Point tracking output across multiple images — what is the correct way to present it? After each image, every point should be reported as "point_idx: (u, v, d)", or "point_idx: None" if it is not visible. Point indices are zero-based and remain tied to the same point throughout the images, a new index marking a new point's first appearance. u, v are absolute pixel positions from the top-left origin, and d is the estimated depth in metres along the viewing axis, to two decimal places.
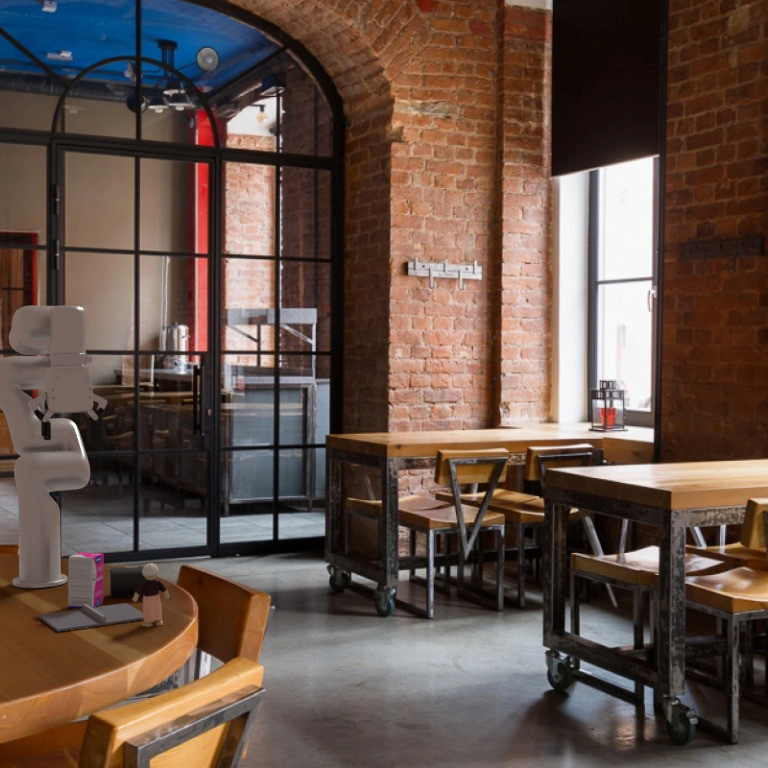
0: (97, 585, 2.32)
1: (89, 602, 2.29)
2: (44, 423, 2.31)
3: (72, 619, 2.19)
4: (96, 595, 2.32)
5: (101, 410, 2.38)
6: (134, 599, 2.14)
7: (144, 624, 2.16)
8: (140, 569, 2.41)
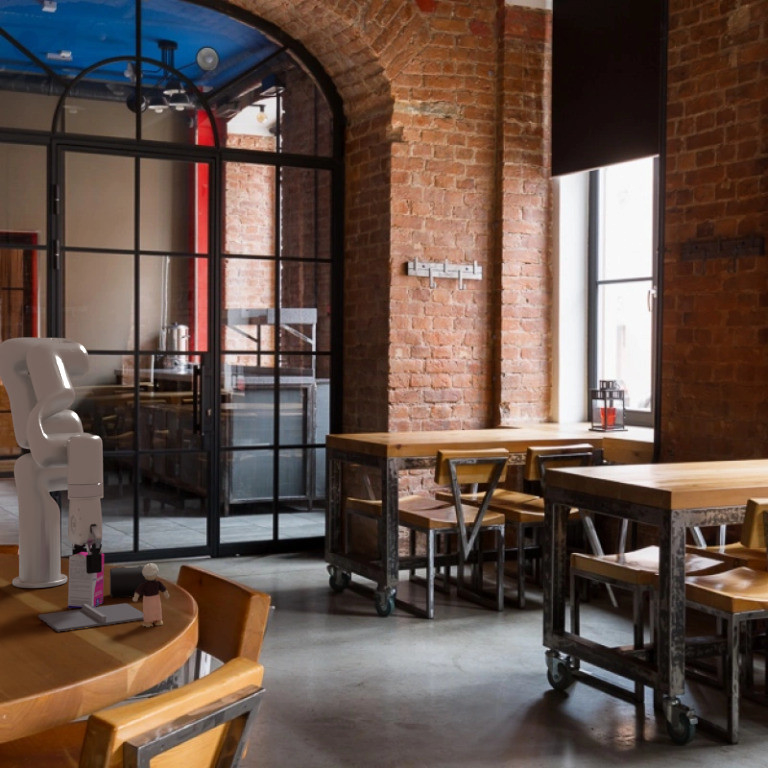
0: (98, 585, 2.32)
1: (89, 602, 2.30)
2: None
3: (72, 619, 2.19)
4: (97, 595, 2.32)
5: None
6: (134, 599, 2.14)
7: (144, 624, 2.16)
8: (140, 569, 2.41)
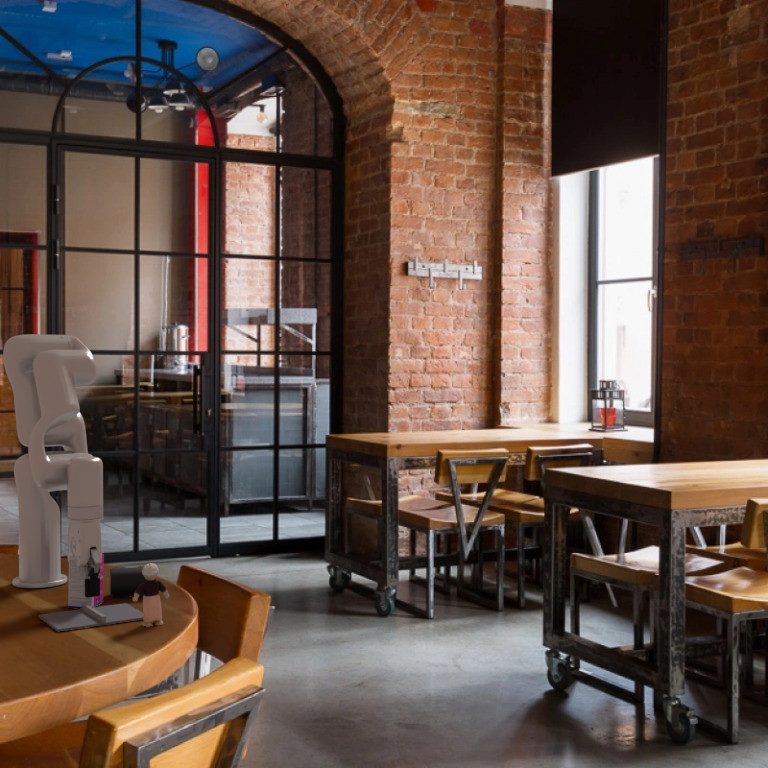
0: None
1: (89, 602, 2.29)
2: None
3: (72, 619, 2.19)
4: None
5: None
6: (134, 599, 2.14)
7: (144, 624, 2.16)
8: (140, 569, 2.41)
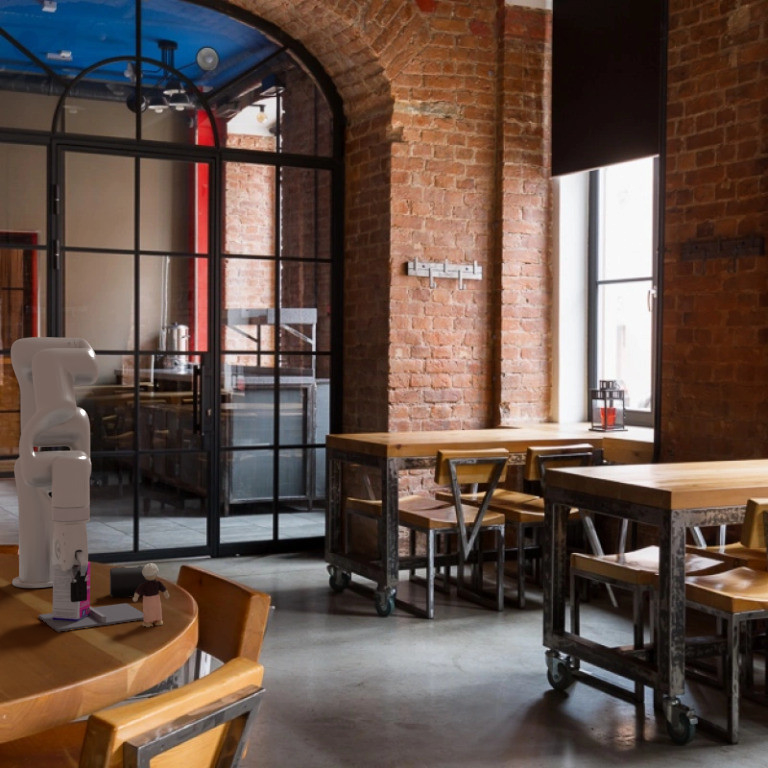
0: None
1: (75, 614, 2.17)
2: None
3: None
4: (83, 605, 2.19)
5: None
6: (134, 599, 2.14)
7: (144, 624, 2.16)
8: (140, 569, 2.41)
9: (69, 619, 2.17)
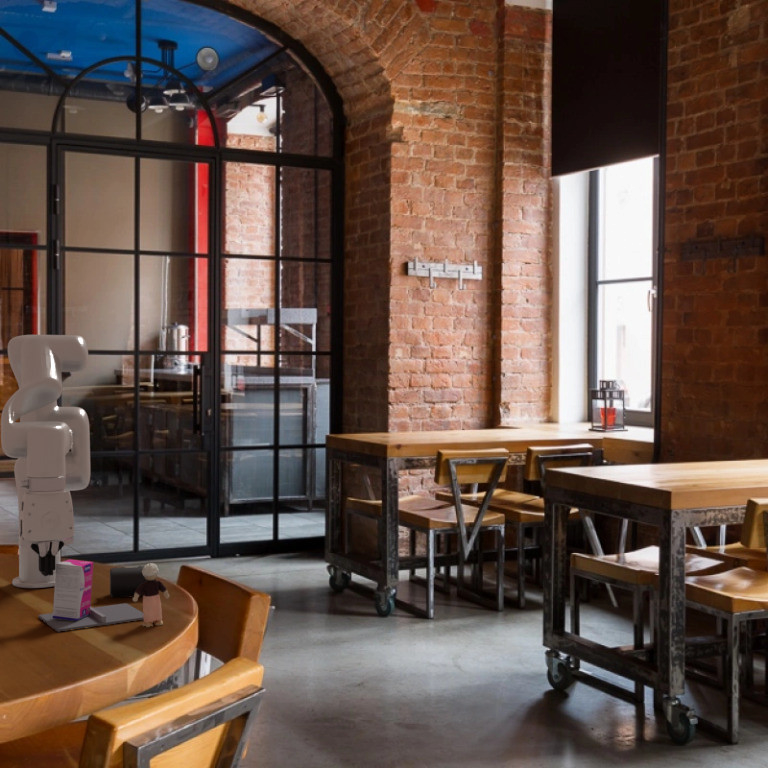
0: (85, 595, 2.19)
1: (75, 613, 2.17)
2: None
3: None
4: (83, 605, 2.19)
5: None
6: (134, 599, 2.14)
7: (144, 624, 2.16)
8: (140, 569, 2.41)
9: (69, 618, 2.17)
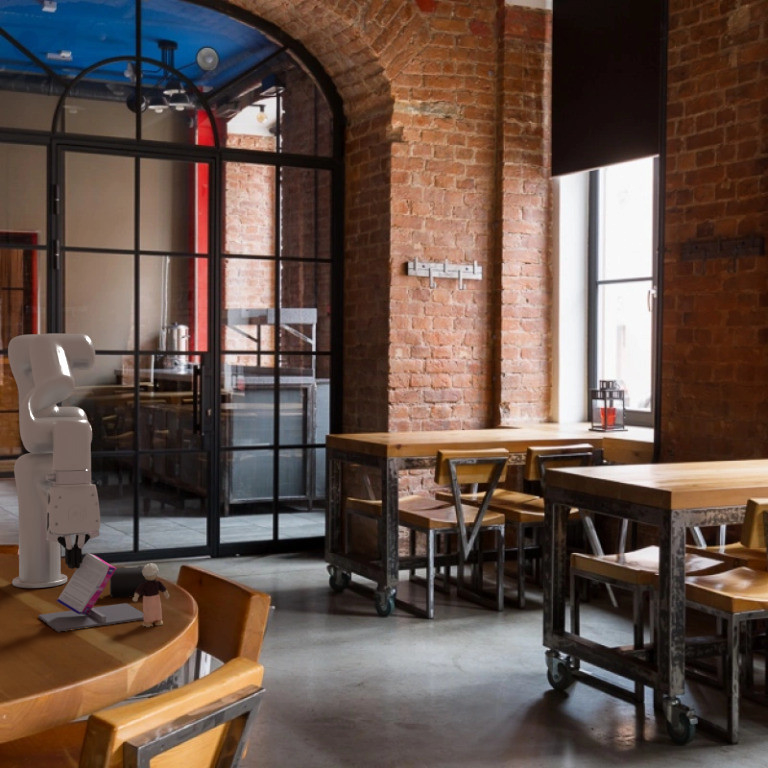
0: (96, 594, 2.20)
1: (80, 606, 2.17)
2: None
3: (72, 619, 2.19)
4: (89, 603, 2.20)
5: None
6: (134, 599, 2.14)
7: (144, 624, 2.16)
8: (140, 569, 2.41)
9: (72, 608, 2.17)
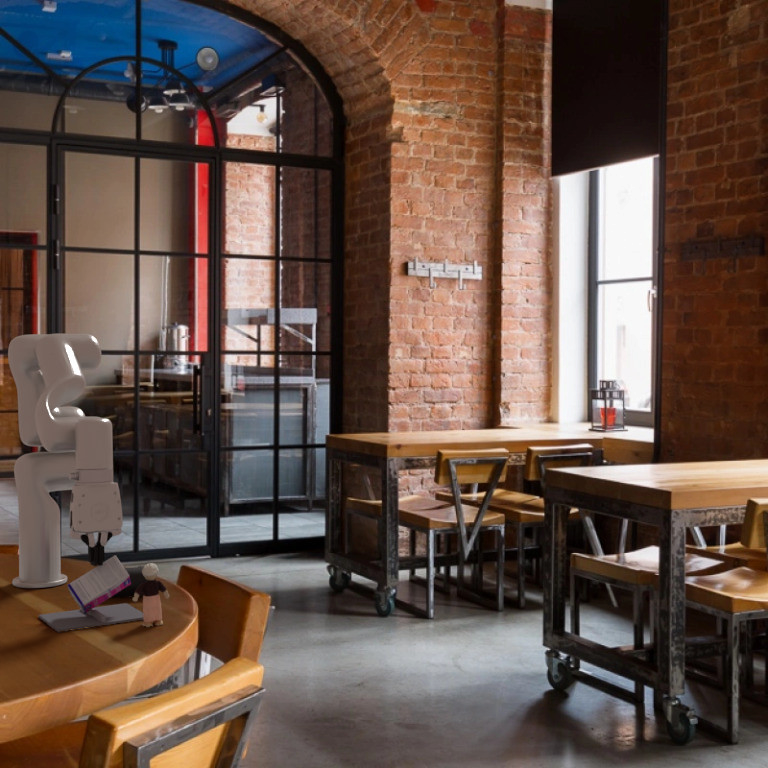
0: (103, 597, 2.21)
1: (86, 599, 2.18)
2: None
3: (72, 619, 2.19)
4: (94, 602, 2.20)
5: None
6: (134, 599, 2.14)
7: (144, 624, 2.16)
8: (140, 569, 2.41)
9: (78, 598, 2.18)
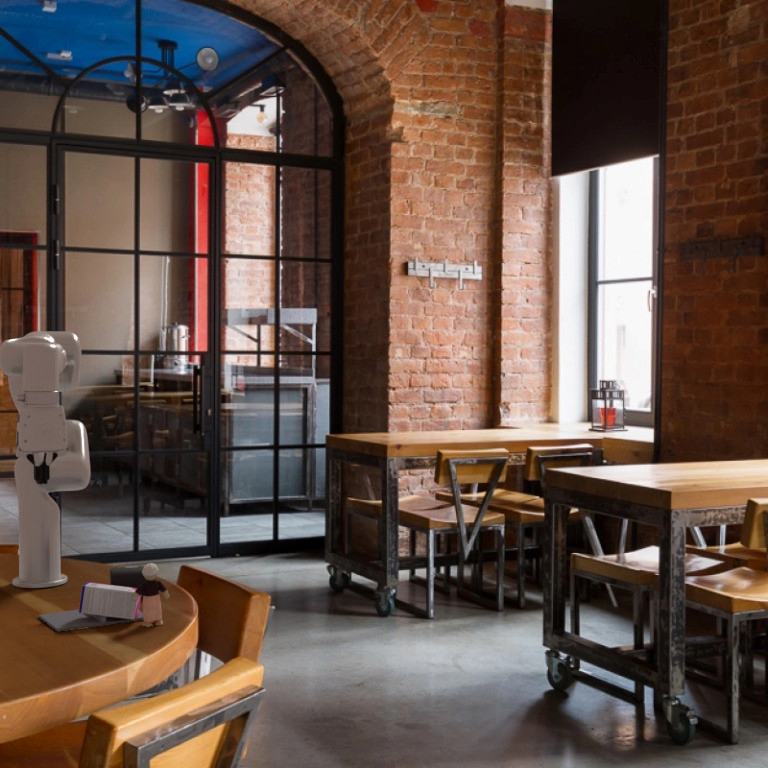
0: None
1: (86, 611, 2.16)
2: None
3: (72, 619, 2.19)
4: None
5: None
6: (134, 599, 2.14)
7: (144, 624, 2.16)
8: (140, 569, 2.41)
9: (81, 604, 2.16)
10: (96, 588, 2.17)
